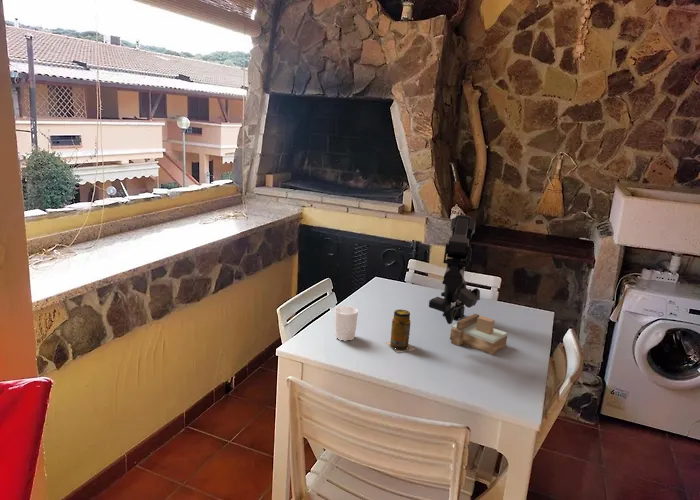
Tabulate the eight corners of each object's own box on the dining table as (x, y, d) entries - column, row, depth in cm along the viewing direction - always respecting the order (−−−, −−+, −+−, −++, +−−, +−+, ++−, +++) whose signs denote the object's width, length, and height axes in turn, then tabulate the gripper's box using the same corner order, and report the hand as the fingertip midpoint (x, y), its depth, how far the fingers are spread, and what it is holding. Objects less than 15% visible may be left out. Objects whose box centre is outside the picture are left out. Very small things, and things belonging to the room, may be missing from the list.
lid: (451, 328, 179) (453, 313, 178) (466, 321, 186) (467, 307, 185) (492, 343, 169) (495, 327, 168) (506, 335, 176) (508, 320, 175)
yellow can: (402, 339, 178) (405, 307, 175) (416, 350, 171) (419, 316, 168) (384, 342, 175) (387, 309, 172) (397, 353, 167) (400, 318, 164)
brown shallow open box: (445, 341, 179) (447, 327, 177) (468, 329, 189) (469, 316, 188) (487, 357, 168) (489, 342, 167) (509, 344, 179) (510, 330, 178)
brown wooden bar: (456, 327, 177) (457, 321, 176) (474, 319, 185) (475, 313, 185) (461, 329, 176) (461, 323, 175) (478, 320, 184) (479, 315, 184)
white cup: (359, 335, 179) (361, 308, 177) (350, 344, 172) (352, 316, 170) (339, 330, 182) (341, 304, 180) (329, 338, 175) (330, 311, 173)
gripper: (460, 291, 155) (455, 339, 159) (491, 279, 168) (485, 323, 172) (430, 281, 162) (425, 328, 166) (461, 271, 175) (456, 314, 179)
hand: (449, 323), depth 171 cm, fingers closed
